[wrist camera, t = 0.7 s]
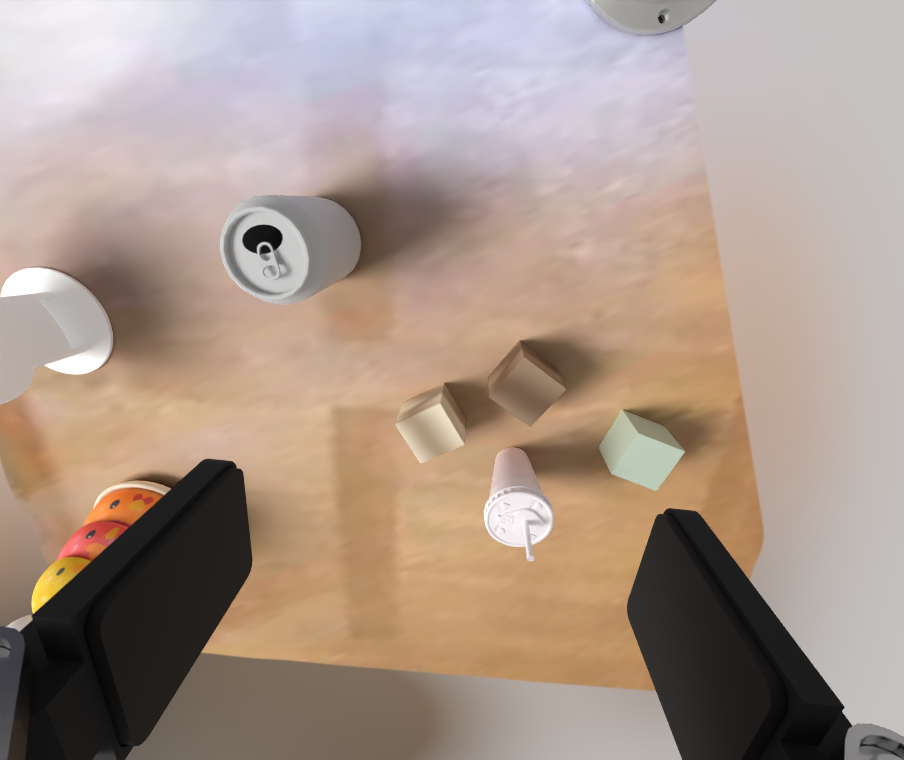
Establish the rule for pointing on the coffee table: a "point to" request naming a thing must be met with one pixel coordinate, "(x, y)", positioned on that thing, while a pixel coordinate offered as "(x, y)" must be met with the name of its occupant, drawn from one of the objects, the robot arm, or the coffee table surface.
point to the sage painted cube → (640, 450)
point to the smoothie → (517, 503)
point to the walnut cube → (525, 384)
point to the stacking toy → (95, 536)
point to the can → (289, 246)
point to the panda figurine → (49, 328)
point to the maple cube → (432, 423)
